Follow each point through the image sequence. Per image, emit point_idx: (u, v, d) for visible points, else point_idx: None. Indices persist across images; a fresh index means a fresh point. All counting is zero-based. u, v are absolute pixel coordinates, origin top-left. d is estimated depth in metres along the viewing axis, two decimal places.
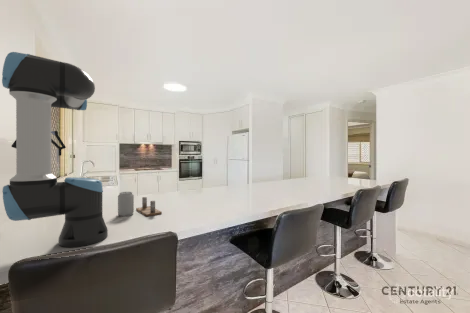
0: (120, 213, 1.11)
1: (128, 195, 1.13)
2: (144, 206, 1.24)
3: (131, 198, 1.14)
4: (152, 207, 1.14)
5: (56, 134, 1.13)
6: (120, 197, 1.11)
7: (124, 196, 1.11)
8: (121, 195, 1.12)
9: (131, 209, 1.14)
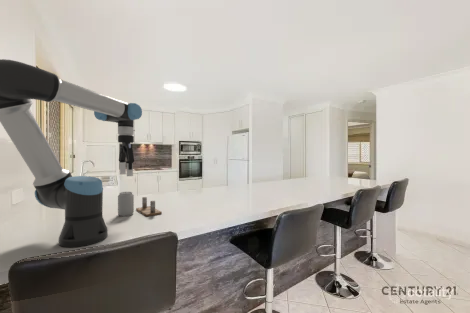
0: (120, 213, 1.11)
1: (128, 195, 1.13)
2: (144, 206, 1.24)
3: (131, 198, 1.14)
4: (152, 207, 1.14)
5: (126, 147, 1.09)
6: (120, 197, 1.11)
7: (124, 196, 1.11)
8: (121, 195, 1.12)
9: (131, 209, 1.14)
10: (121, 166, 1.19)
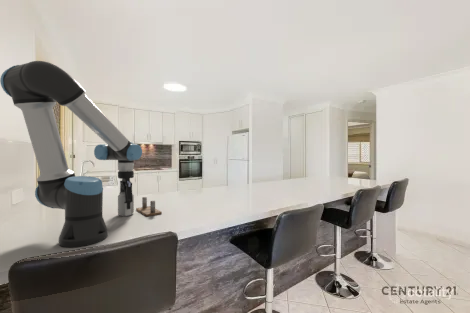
0: (120, 213, 1.11)
1: None
2: (144, 206, 1.24)
3: None
4: (152, 207, 1.14)
5: (126, 186, 1.10)
6: (120, 197, 1.11)
7: (124, 196, 1.11)
8: (121, 195, 1.12)
9: (131, 209, 1.14)
10: None
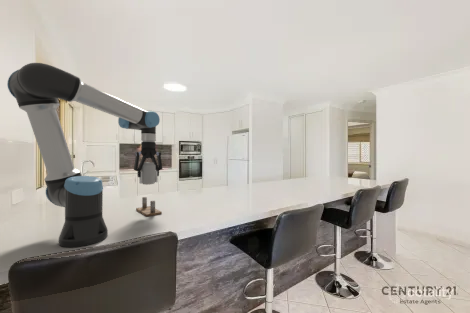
0: (154, 181, 1.19)
1: None
2: (144, 206, 1.24)
3: None
4: (152, 207, 1.14)
5: (159, 155, 1.23)
6: (154, 166, 1.19)
7: (155, 165, 1.21)
8: (153, 164, 1.19)
9: None
10: None
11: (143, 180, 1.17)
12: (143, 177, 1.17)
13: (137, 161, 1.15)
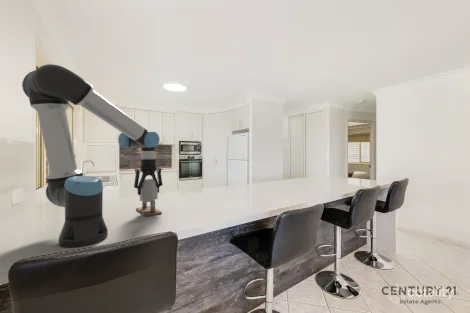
0: (154, 198, 1.19)
1: None
2: (144, 206, 1.24)
3: None
4: (152, 207, 1.14)
5: (159, 172, 1.23)
6: (154, 183, 1.19)
7: (155, 182, 1.21)
8: (153, 181, 1.19)
9: None
10: None
11: (143, 198, 1.17)
12: (143, 195, 1.17)
13: (137, 179, 1.15)
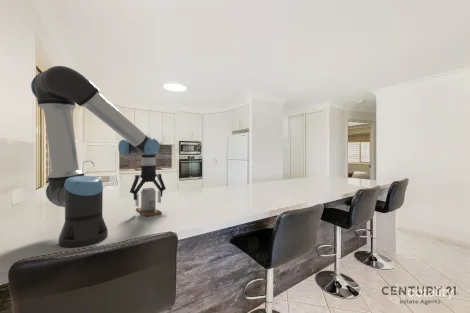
0: None
1: None
2: None
3: None
4: (152, 207, 1.14)
5: (160, 177, 1.23)
6: (154, 192, 1.19)
7: (155, 191, 1.21)
8: (153, 190, 1.19)
9: None
10: None
11: (143, 207, 1.17)
12: (143, 204, 1.17)
13: (135, 184, 1.14)
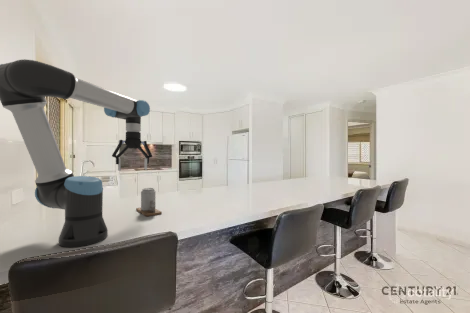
0: None
1: None
2: None
3: None
4: (152, 207, 1.14)
5: (145, 144, 1.22)
6: (153, 192, 1.19)
7: (154, 191, 1.21)
8: (153, 190, 1.19)
9: None
10: None
11: (143, 207, 1.17)
12: (143, 204, 1.17)
13: (118, 148, 1.13)
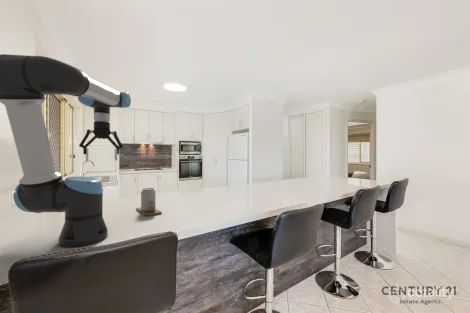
0: None
1: None
2: None
3: None
4: (152, 207, 1.14)
5: (115, 134, 1.21)
6: (154, 192, 1.19)
7: (155, 191, 1.21)
8: (153, 190, 1.19)
9: None
10: None
11: (143, 207, 1.17)
12: (143, 204, 1.17)
13: (85, 138, 1.12)
